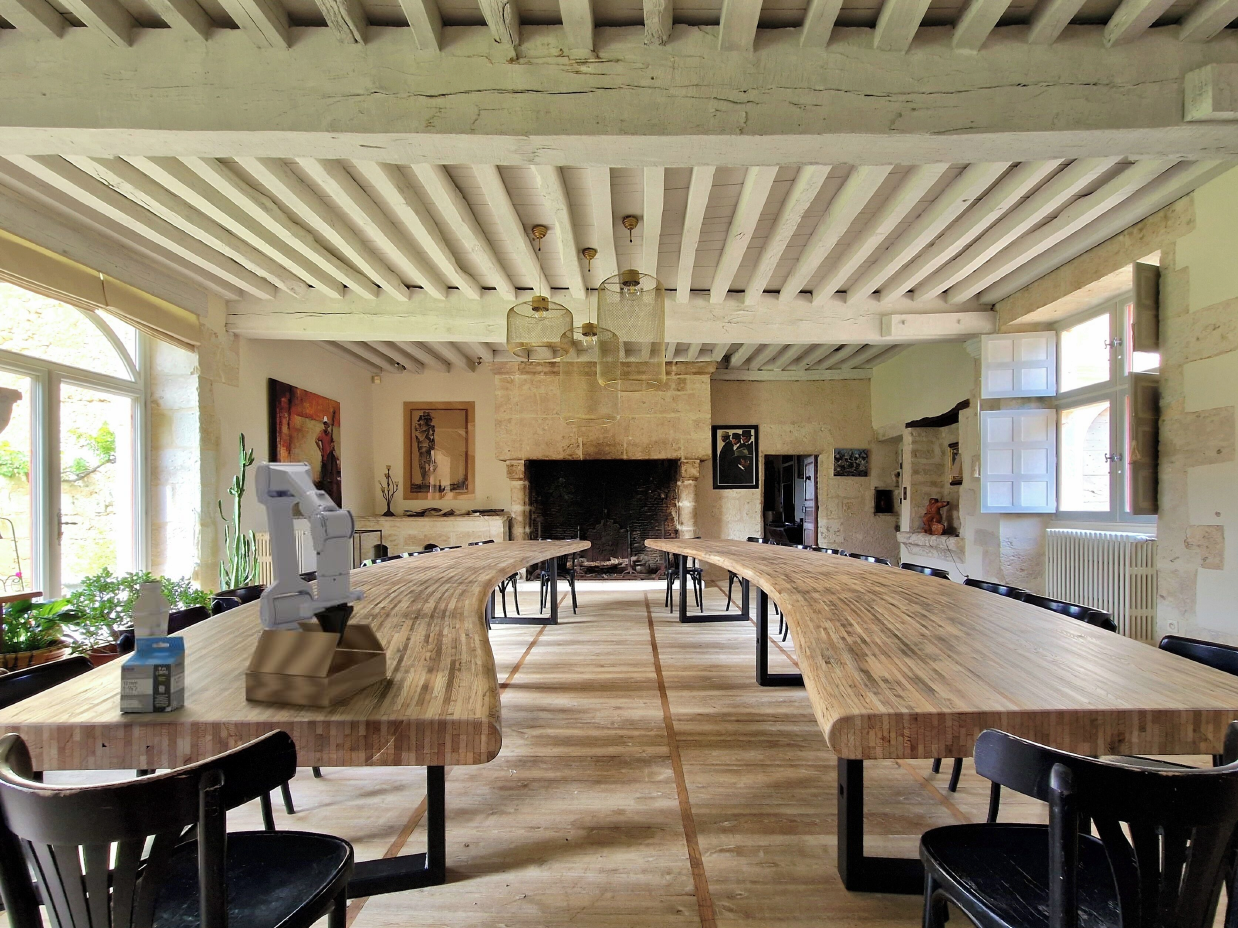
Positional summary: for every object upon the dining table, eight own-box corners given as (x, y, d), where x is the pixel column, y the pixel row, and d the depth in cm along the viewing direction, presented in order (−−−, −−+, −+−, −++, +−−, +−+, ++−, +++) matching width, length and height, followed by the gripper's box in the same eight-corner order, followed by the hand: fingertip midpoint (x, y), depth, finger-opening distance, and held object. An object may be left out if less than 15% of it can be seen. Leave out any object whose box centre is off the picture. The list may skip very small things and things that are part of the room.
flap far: (296, 622, 120) (297, 620, 120) (313, 647, 124) (314, 645, 124) (368, 625, 115) (369, 624, 116) (383, 651, 119) (384, 649, 120)
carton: (245, 699, 109) (245, 672, 109) (313, 671, 124) (312, 647, 124) (327, 707, 104) (326, 678, 104) (386, 677, 119) (386, 652, 119)
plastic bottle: (132, 687, 117) (131, 585, 118) (130, 679, 122) (129, 582, 123) (173, 679, 122) (171, 581, 122) (169, 672, 127) (168, 578, 127)
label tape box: (118, 714, 104) (118, 643, 104) (136, 705, 108) (136, 637, 108) (170, 712, 104) (169, 641, 104) (186, 703, 108) (186, 635, 108)
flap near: (248, 671, 109) (246, 670, 109) (265, 629, 113) (263, 629, 113) (325, 677, 104) (324, 676, 104) (340, 633, 108) (339, 633, 108)
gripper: (322, 581, 106) (323, 658, 105) (376, 568, 119) (377, 636, 119) (289, 580, 107) (290, 655, 107) (347, 567, 121) (348, 634, 121)
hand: (334, 645), depth 113 cm, fingers closed
